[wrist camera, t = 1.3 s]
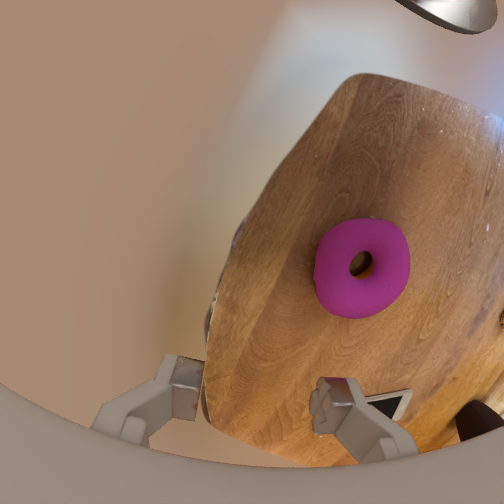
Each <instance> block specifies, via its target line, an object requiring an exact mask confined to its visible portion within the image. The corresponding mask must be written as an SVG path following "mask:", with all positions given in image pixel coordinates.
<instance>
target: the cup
mask: <svg viewBox="0 0 504 504" xmlns="http://www.w3.org/2000/svg"><path fill="white" fill-rule="evenodd" d="M456 425H457V430H458V434H459V438H460V441H461V442H463V441H466V440H469V439H472V438H474V437H477V436H480V435H482V434H485V433H487V432H490V431H492V430H495V429H497V428H499V427H502V426H504V419H503V418H502V417H500V416H499V415H498V414H497V413H496V412H495V411H493V410H492V409H491V408H490V407H488V406H487V405H485V404H484V403H482V402H480V401H478V400H473V401H471V402H469V403H468V404H467V405H466V406H465V407H464V408H463V409H462V410H461V411H460V412H459V414H458V415H457V416H456Z"/></svg>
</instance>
